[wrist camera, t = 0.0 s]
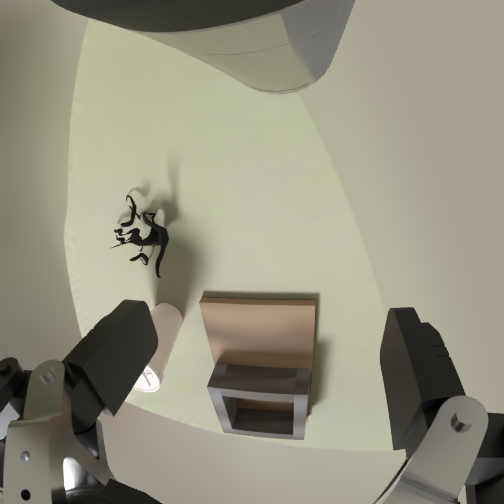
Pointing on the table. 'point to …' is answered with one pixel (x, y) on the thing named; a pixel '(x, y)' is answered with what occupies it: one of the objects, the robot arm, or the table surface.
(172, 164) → the table surface
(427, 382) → the robot arm
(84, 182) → the table surface
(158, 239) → the creature
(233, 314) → the board
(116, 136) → the table surface
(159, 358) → the smoothie
